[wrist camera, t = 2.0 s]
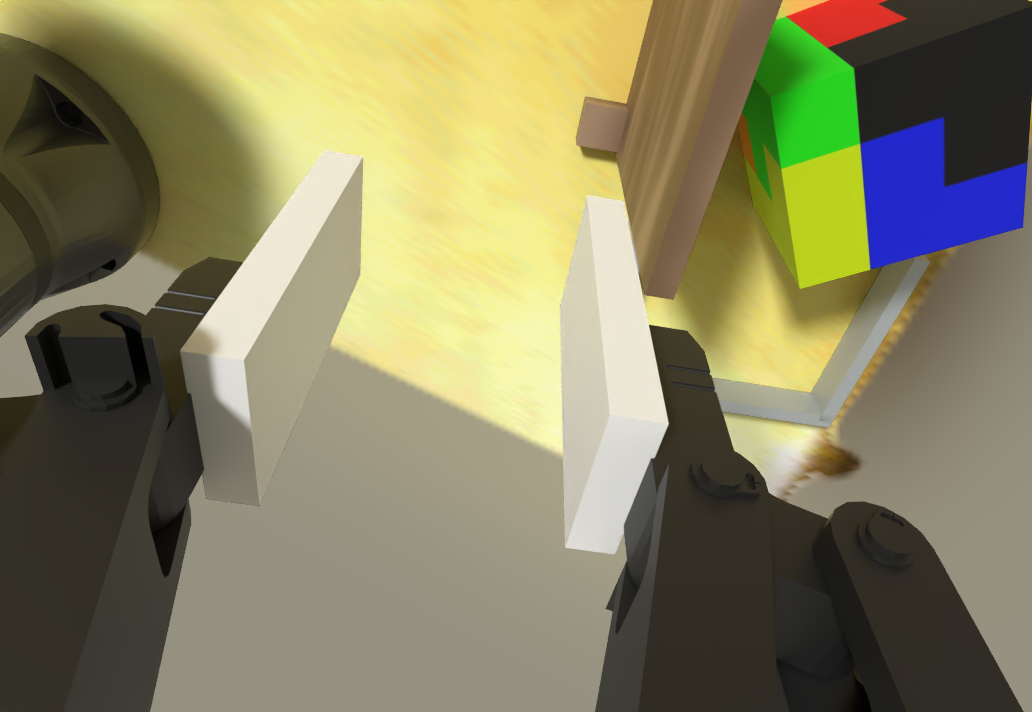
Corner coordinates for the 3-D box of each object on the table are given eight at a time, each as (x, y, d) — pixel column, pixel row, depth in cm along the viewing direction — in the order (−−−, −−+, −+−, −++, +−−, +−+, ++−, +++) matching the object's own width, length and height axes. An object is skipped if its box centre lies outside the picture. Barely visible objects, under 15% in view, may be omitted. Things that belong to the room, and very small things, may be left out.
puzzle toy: (927, 148, 39) (1023, 227, 31) (752, 203, 42) (799, 288, 34) (923, -36, 34) (1038, 3, 26) (721, 40, 36) (770, 96, 28)
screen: (574, 142, 40) (586, 285, 27) (645, -177, 31) (711, -187, 18) (673, 160, 40) (730, 308, 28) (772, -151, 31) (924, -142, 19)
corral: (585, 369, 50) (587, 390, 48) (636, 194, 42) (640, 212, 40) (818, 404, 51) (828, 427, 49) (913, 242, 43) (930, 261, 41)
